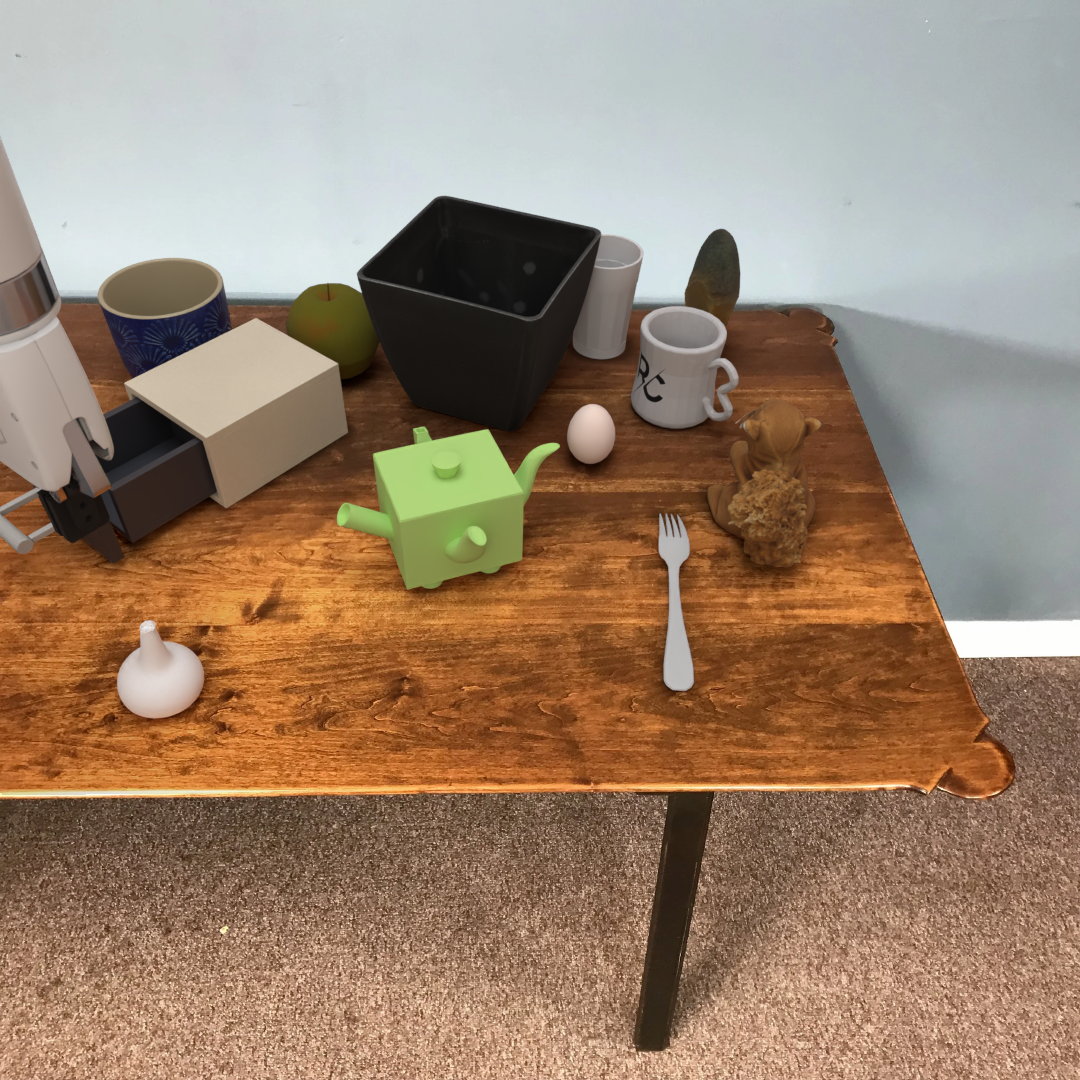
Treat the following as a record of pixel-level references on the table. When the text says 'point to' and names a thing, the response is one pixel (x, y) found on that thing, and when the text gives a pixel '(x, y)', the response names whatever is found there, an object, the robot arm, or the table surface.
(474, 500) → the kettle
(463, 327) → the flower pot
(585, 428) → the egg
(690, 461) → the table surface
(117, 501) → the drawer
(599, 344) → the cup
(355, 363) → the apple
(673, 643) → the fork
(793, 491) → the stuffed squirrel
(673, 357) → the mug
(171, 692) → the garlic bulb
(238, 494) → the cabinet
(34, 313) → the robot arm
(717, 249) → the decorative stone
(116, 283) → the planter
